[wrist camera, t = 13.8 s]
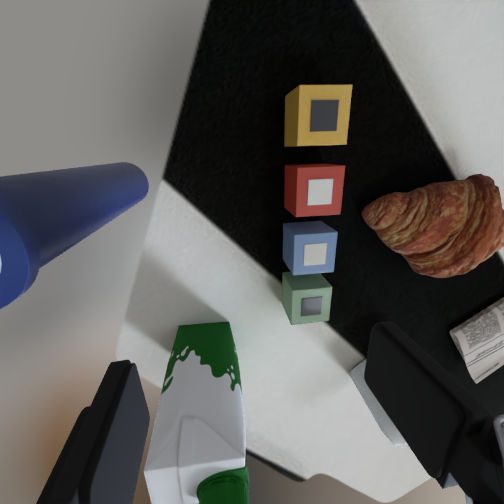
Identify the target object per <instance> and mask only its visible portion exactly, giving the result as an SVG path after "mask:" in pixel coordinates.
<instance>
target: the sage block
mask: <svg viewBox="0 0 504 504" xmlns="http://www.w3.org/2000/svg"><path fill="white" fill-rule="evenodd" d="M331 293H332V286H331V285H330V284H329V283H328V282H327V280H326V279H325V278H324V277H323V276H322V275H321V273H316V274H304V275H292V273H291V272H283V273H282V304H283V307H284V309H285V311H286V314H287V316H288V318H289V321H290V323H291V325H294V324H303V323H312V322H321V321H329V313H330V303H331Z"/></svg>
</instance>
